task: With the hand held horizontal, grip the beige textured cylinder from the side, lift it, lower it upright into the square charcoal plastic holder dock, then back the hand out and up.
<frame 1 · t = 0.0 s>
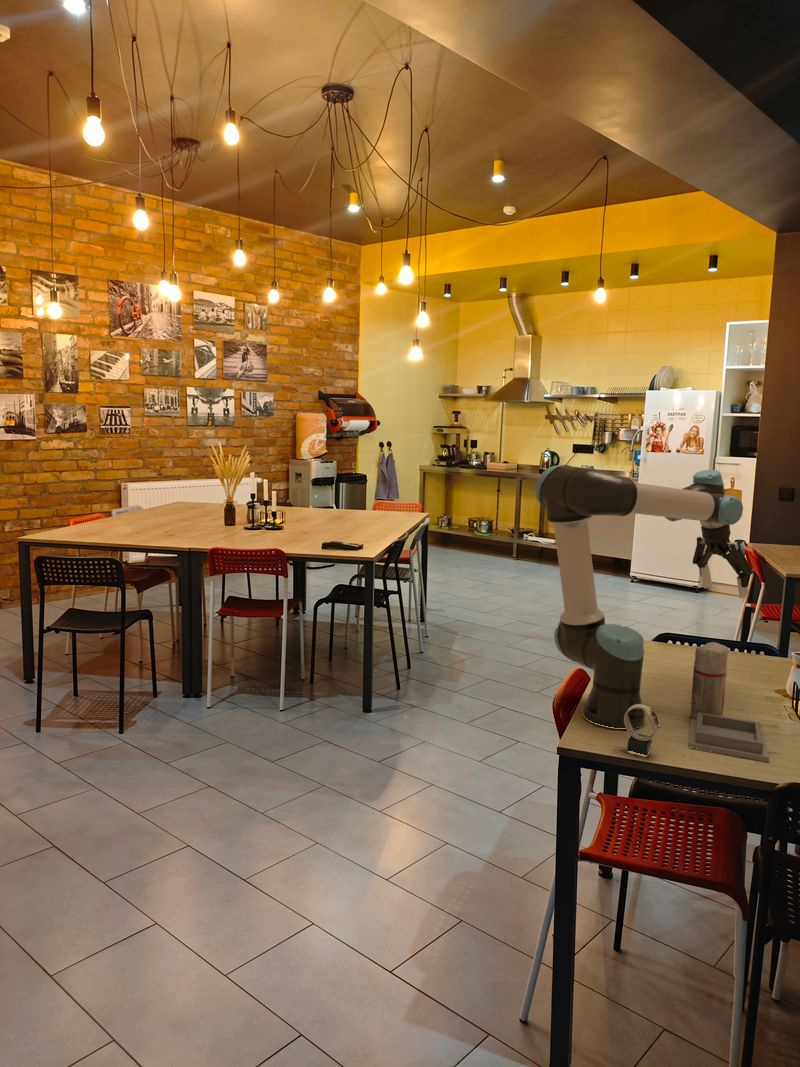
hand: (725, 591, 228), 28 cm above the table, tool tilted 20°, fingers open, 13 cm apart
watch: (639, 752, 181), on the table
holder dock: (727, 741, 189), on the table
beige textured cylinder: (705, 719, 203), on the table
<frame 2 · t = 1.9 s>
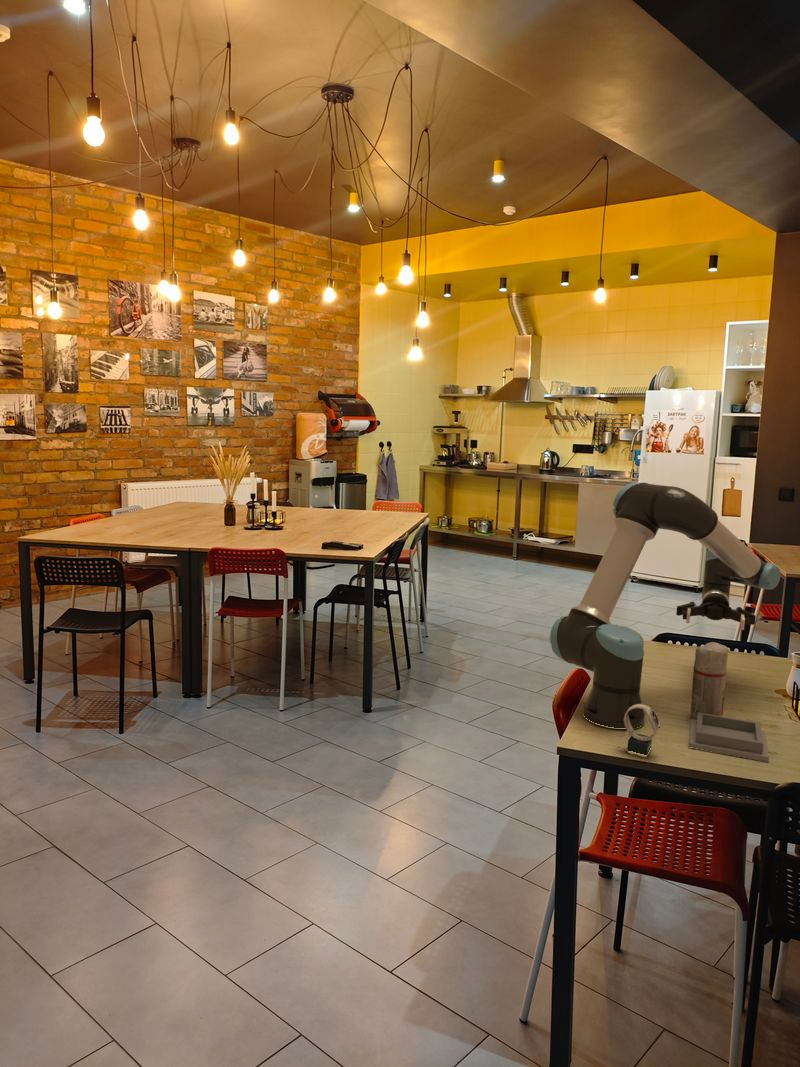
hand: (715, 621, 209), 24 cm above the table, tool horizontal, fingers open, 13 cm apart
nothing on the table moved.
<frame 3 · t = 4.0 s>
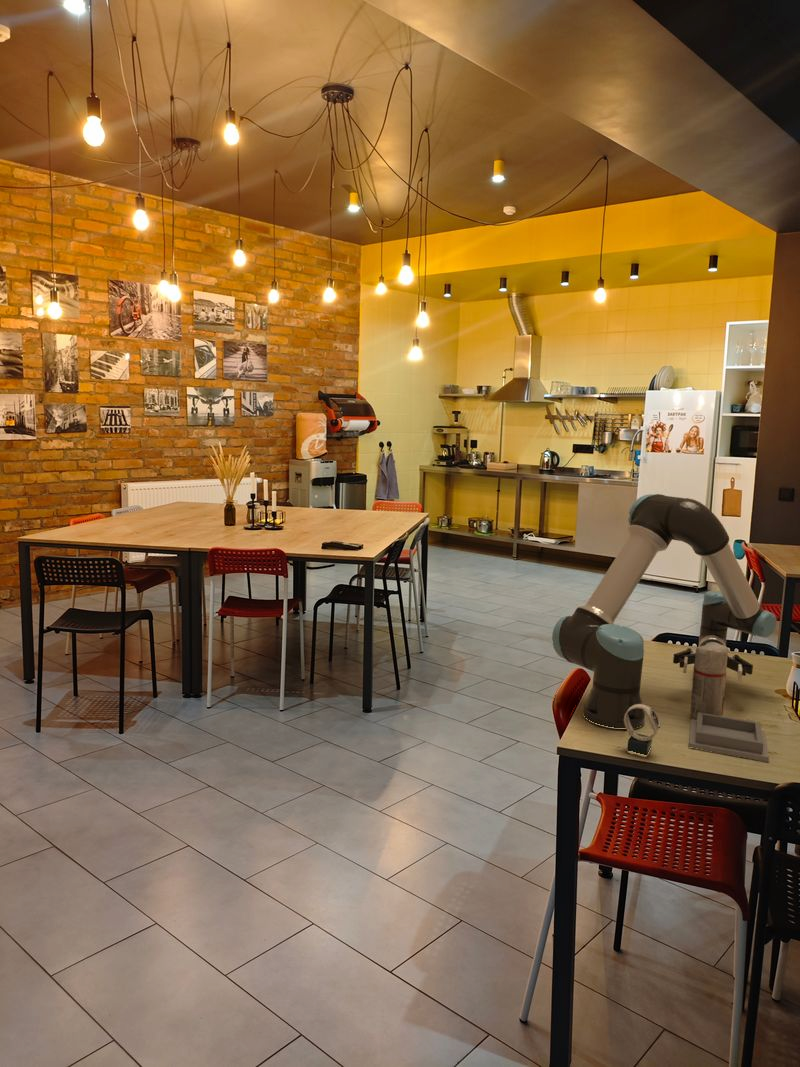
hand: (712, 672, 207), 11 cm above the table, tool horizontal, fingers open, 13 cm apart
nothing on the table moved.
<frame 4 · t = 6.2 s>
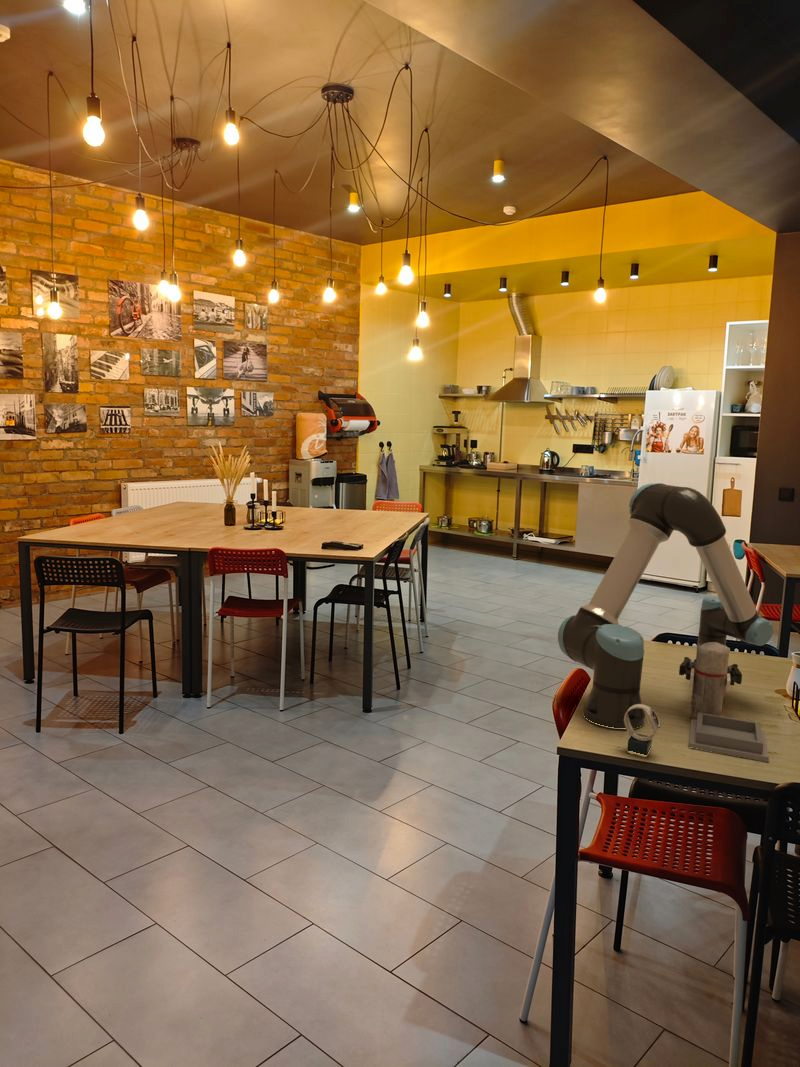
hand: (709, 683, 197), 11 cm above the table, tool horizontal, fingers closed on beige textured cylinder, 8 cm apart
beige textured cylinder: (705, 719, 203), on the table, touching gripper
everything else where it was.
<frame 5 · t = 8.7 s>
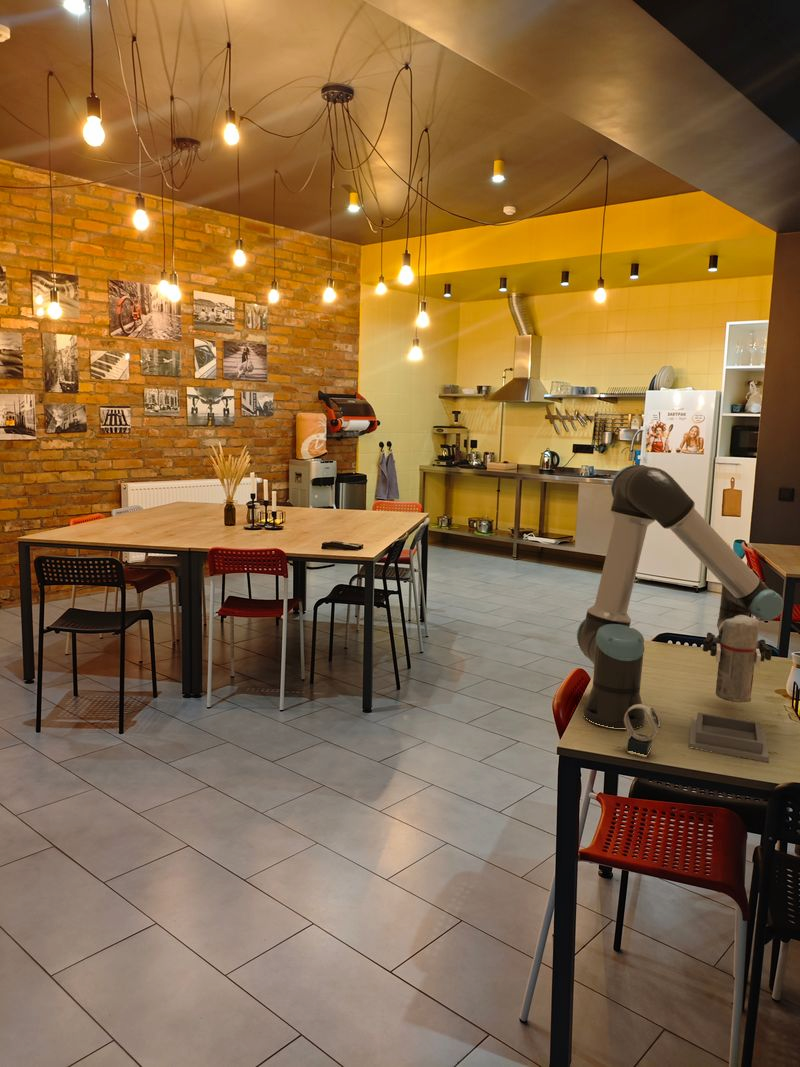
hand: (738, 658, 182), 22 cm above the table, tool horizontal, fingers closed on beige textured cylinder, 8 cm apart
beige textured cylinder: (732, 698, 188), point 11 cm above the table, touching gripper
everything else where it was.
when the fingers open (13 cm above the table, at t = 11.3 s): beige textured cylinder stays where it is, resting on holder dock.
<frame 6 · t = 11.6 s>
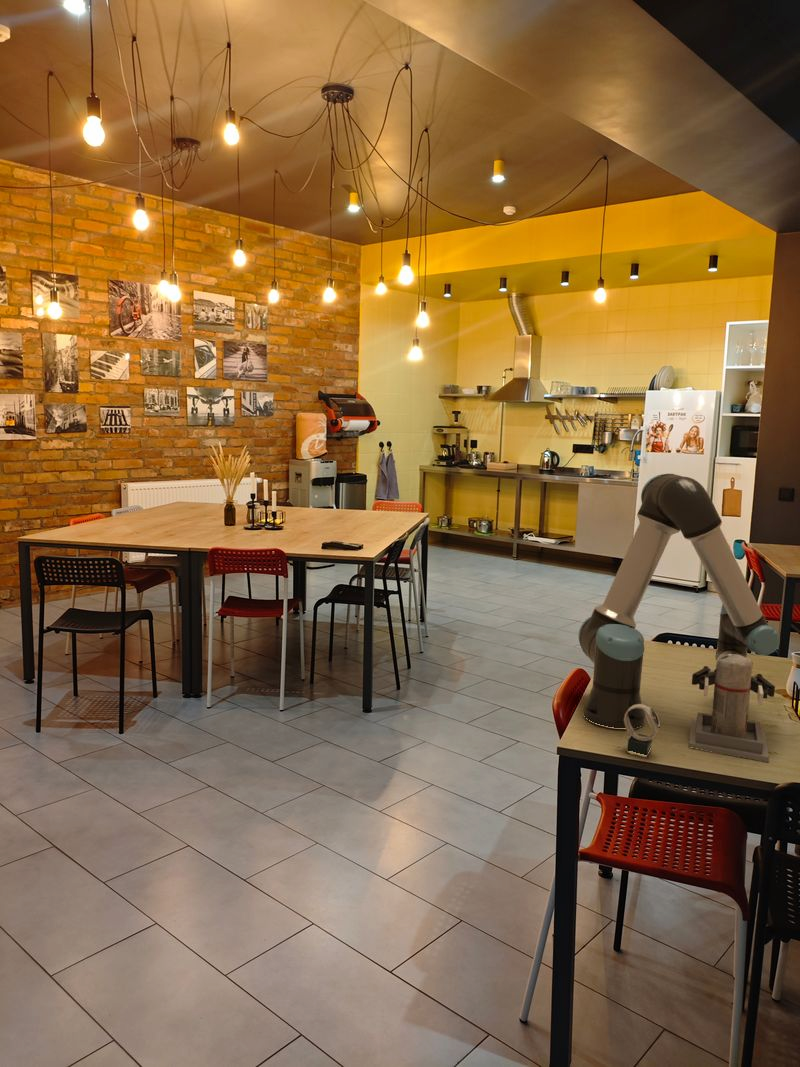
hand: (733, 695, 183), 13 cm above the table, tool horizontal, fingers open, 11 cm apart
beige textured cylinder: (727, 737, 189), point 1 cm above the table, touching holder dock
everything else where it was.
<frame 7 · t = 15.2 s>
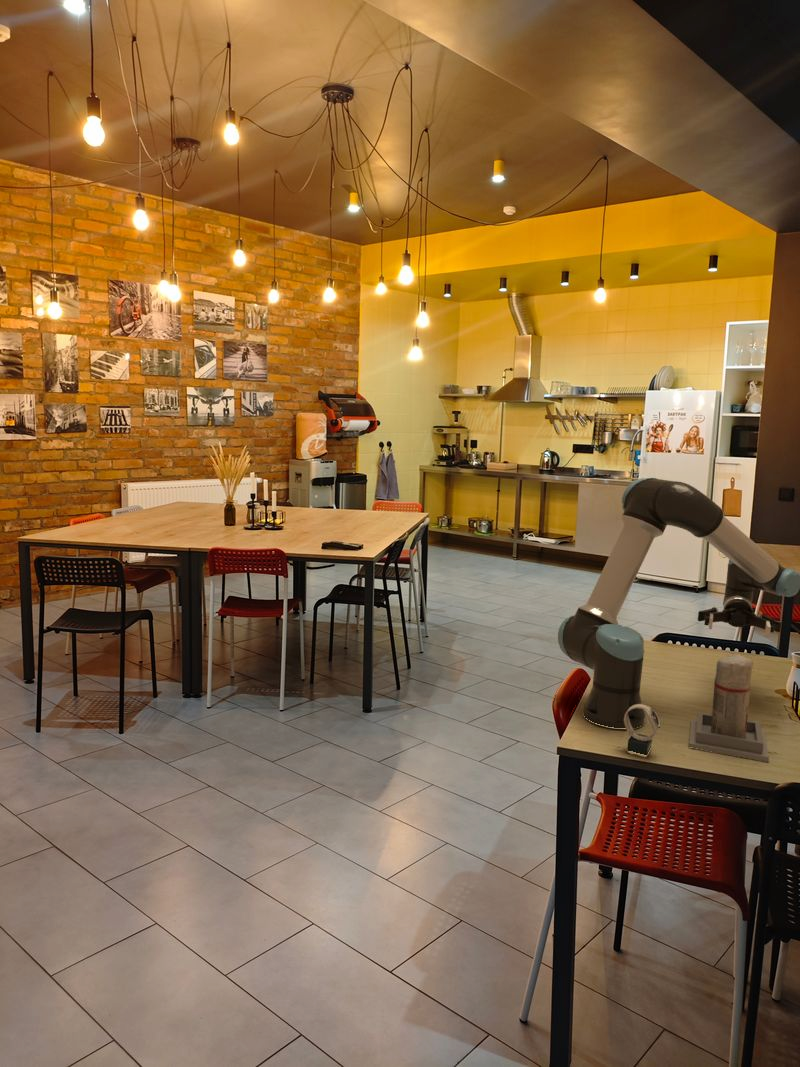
hand: (739, 628, 200), 24 cm above the table, tool horizontal, fingers open, 13 cm apart
nothing on the table moved.
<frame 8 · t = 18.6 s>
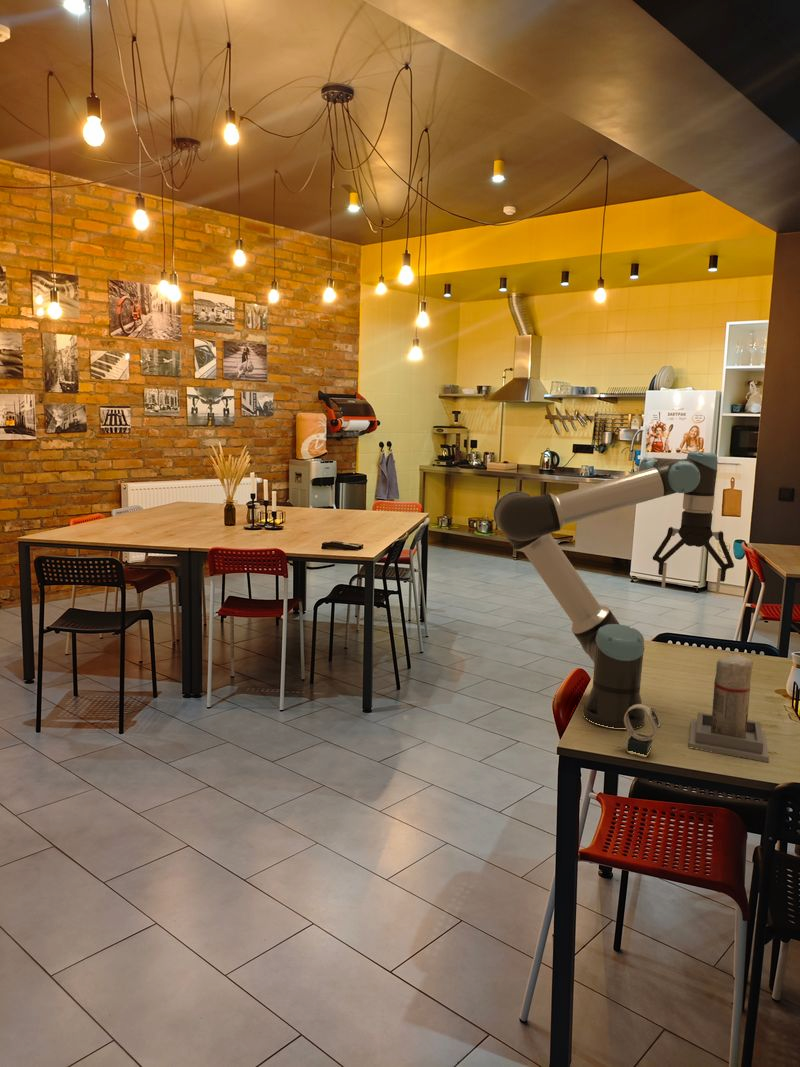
hand: (689, 590, 209), 32 cm above the table, tool pointing down, fingers open, 13 cm apart
nothing on the table moved.
at the end: beige textured cylinder 0.1 cm off-centre on the holder dock, point 1.0 cm above the holder dock's base; beige textured cylinder tilted 0°; the gripper is holding nothing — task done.
